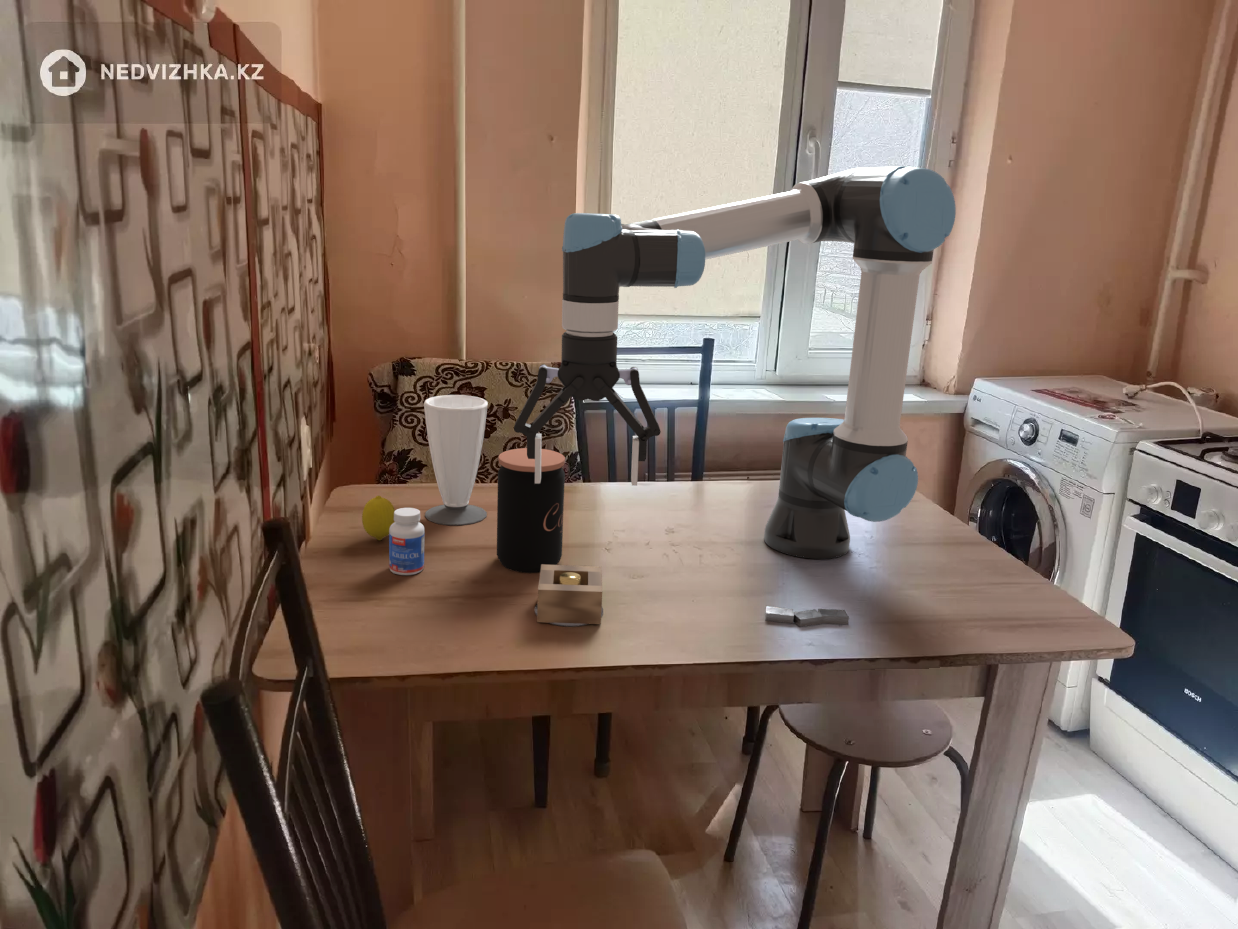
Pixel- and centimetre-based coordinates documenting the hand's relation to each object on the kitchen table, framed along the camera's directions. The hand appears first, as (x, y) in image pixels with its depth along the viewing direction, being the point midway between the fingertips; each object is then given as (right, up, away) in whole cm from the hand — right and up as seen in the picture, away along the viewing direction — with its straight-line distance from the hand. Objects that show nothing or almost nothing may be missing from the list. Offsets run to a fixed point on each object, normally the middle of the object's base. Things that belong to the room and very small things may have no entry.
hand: (586, 481), depth 129 cm
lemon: (-36, -11, +27) cm, 46 cm away
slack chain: (+32, -20, +6) cm, 39 cm away
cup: (-26, -7, +41) cm, 49 cm away
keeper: (-3, -19, +4) cm, 20 cm away
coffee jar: (-10, -14, +21) cm, 27 cm away
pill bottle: (-29, -14, +16) cm, 36 cm away
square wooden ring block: (-3, -19, +4) cm, 19 cm away
